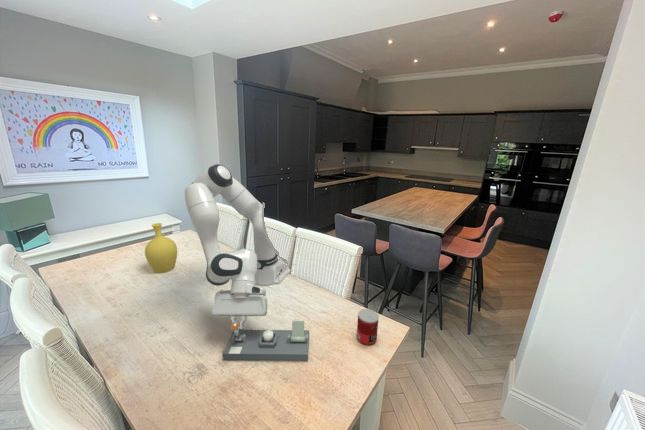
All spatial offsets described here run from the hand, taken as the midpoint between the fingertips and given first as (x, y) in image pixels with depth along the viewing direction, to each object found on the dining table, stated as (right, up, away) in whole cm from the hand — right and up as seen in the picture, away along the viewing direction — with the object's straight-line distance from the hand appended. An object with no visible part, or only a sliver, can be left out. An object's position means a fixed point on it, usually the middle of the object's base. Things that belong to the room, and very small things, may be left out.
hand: (237, 329), depth 95 cm
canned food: (+49, -8, +9) cm, 50 cm away
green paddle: (+22, -5, +2) cm, 23 cm away
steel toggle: (0, -4, +2) cm, 5 cm away
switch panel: (+11, -9, +3) cm, 14 cm away
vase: (-63, +9, +60) cm, 87 cm away
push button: (+11, -5, +2) cm, 12 cm away
